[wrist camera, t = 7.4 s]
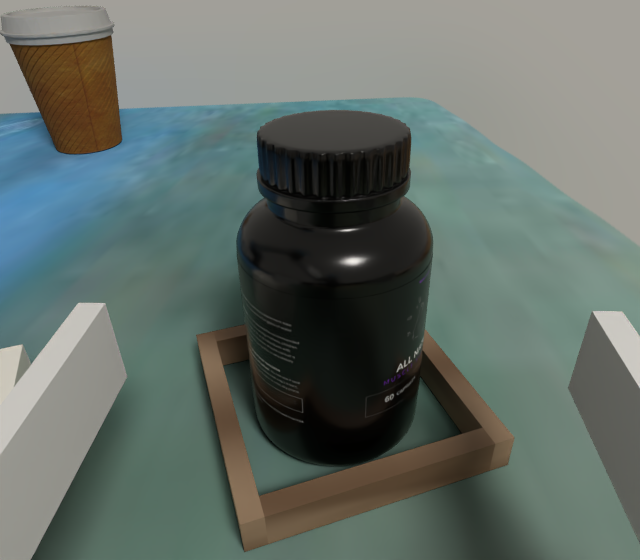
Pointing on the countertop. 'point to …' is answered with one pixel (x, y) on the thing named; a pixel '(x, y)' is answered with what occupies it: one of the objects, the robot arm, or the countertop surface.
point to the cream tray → (12, 368)
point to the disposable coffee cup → (69, 73)
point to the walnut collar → (360, 481)
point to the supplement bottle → (334, 285)
